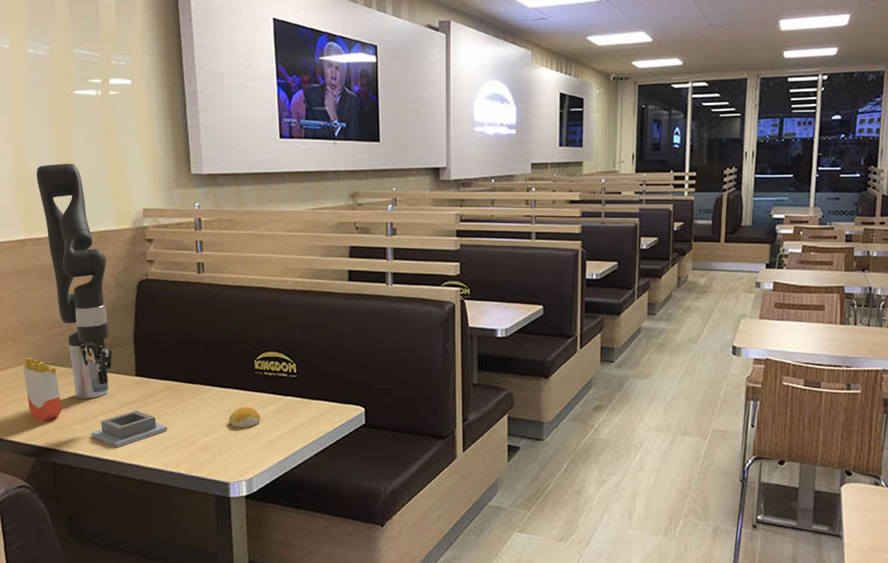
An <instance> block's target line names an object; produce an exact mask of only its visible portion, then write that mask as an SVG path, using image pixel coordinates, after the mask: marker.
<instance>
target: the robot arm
mask: <svg viewBox="0 0 888 563" xmlns="http://www.w3.org/2000/svg"><path fill="white" fill-rule="evenodd" d="M36 180H37V184H38V190H39V195H40V199H41V203H42V207H43V212H44V216H45V221H46V222H45V223H46V228H47V238H48V243H49V244H48V245H49V250H50V258H51V261H52V266H53V270H54V277H55V281H56V282H55V283H56V291H57V301H58V304H57V305H58V311H59V315H60V319H61V321H62V322H63V323H65V324H75V323H76V329H77V331H75V332H73V333H72V334H70V335H69V336H68V344H69V345H68V347H69V353H70V360H71V361H70V362H71V366H72V367H71V368H72V369H71V370H72V376H73V383H74V384H73V385H74V392H75V398H77V399H81V400H82V399H84V400H85V399H93V398H94V399H95V398H97V397H101V396H105V395H106V394H108V390H106V391H102V392H93V390H92V382H91V374H90V366H89V359H88V356H92V358H93V362H94V364H96V367H97V370H98V380H99V384H105V383H107V382H108V383H109V381H108V380H109V379H108V372H107V370H109V369H112V368H111V367H112V355H113V354H112V353H113V351H112V349H111V348H109V349H107V347H106V343H105V339H107V338H109V335H110V333H109V326H108V317H107V311H106V307H105V301H104V296H103V295H104V294H103V284H104V276H105V272H106V265H107V259H106V255H105V253H104V252H103V251H102V250H101V249H99V248H92V249H90V248H91V247H92V245H93V236H92V234H91V229H90V227H89V223H88V218H87V210H86V203H85V202H86V201H85V195H84V187H83V183H82V177H81V174H80V171H79V169H78V167H77V165H75V163H60V164H48V165H47V164H46V165H41V166H38V167H37V169H36ZM67 196H68V197H69V196H71V198H70V199H71V200H70V202H69V204H68V206H67V207H66V209H65V211H64V212H62V210H61V209H60V208H59V207H58V206H57V204H56V202H55V201H54V198H57V197H58V198H60V197H67ZM88 276H91V279H90V280H89V281H88V282H85V283H83V284H80V285H77V286H76V287H74V289H73V293H70V292H69V291H70V287H71V285H72V282H73V279H74V278H80V277H88ZM98 358H100V360H97V359H98ZM99 363H100V364H99Z"/></svg>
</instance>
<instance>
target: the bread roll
mask: <svg viewBox="0 0 888 563" xmlns="http://www.w3.org/2000/svg"><path fill="white" fill-rule="evenodd" d="M260 420H261V415H260V414H259V413H258V412H257V410H256V409H254V408H252V407H246V406H245V407H240V408H237V409H236V410H234V411H233V412H231V414H230V415H229V418H228V423H229V424H230V426H232V427H234V428H249V427H253V426H256V425H257V424H258V423H259V422H260Z"/></svg>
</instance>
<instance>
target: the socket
mask: <svg viewBox="0 0 888 563" xmlns="http://www.w3.org/2000/svg"><path fill="white" fill-rule="evenodd" d="M100 424H101V425H100V426H101V429H99V430H96V431H93V432H91V437H92V438H96V439H97V440H100V441H102V442H105V443H106V444H109V445H111V446H113V445H114V447H115V448H119V446H120V447H123V446H126V445H128V444H131V442H132V443H134V441H135V442H137V441H140V440H143V439H145V438H149V437H152V436H156V435H158V434H160V433H161V434H162V433H164V432H166V431H168V427H167V426H165V425H163V424H160V423H158V422H156V416H153V415H150V414H147V413H144V412H141V411H138V410H134V411H129V412H128V413H124V414H120V415H118V416H114V417H111V418H107V419H104V420H101V421H100ZM125 444H126V445H125ZM122 445H123V446H122Z"/></svg>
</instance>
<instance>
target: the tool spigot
mask: <svg viewBox="0 0 888 563" xmlns="http://www.w3.org/2000/svg"><path fill="white" fill-rule="evenodd" d="M88 359H89V366H90V374H91V382H92V390H93V392H102V391H106V390H107V391H108V390H109V381H108V382H107V383H105V384H99V380H98V370H97V367H96V364H94V362H93V358H92V356H88ZM97 360H100V358H98V359H97ZM99 364H100V363H99Z"/></svg>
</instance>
